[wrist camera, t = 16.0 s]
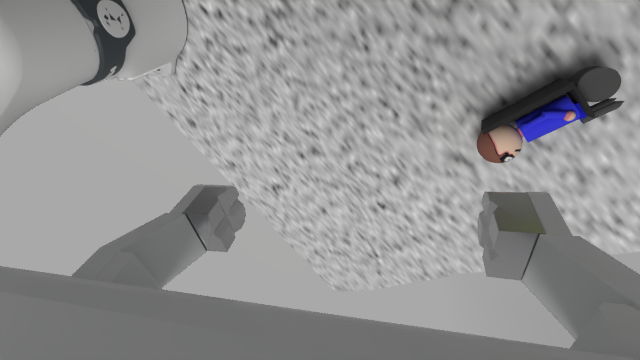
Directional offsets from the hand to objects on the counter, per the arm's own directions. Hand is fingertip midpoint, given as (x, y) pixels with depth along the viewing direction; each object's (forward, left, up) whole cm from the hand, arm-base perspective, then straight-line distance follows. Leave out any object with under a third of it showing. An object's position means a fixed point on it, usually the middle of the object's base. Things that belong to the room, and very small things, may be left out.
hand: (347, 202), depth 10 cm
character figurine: (+17, -12, -34) cm, 40 cm away
